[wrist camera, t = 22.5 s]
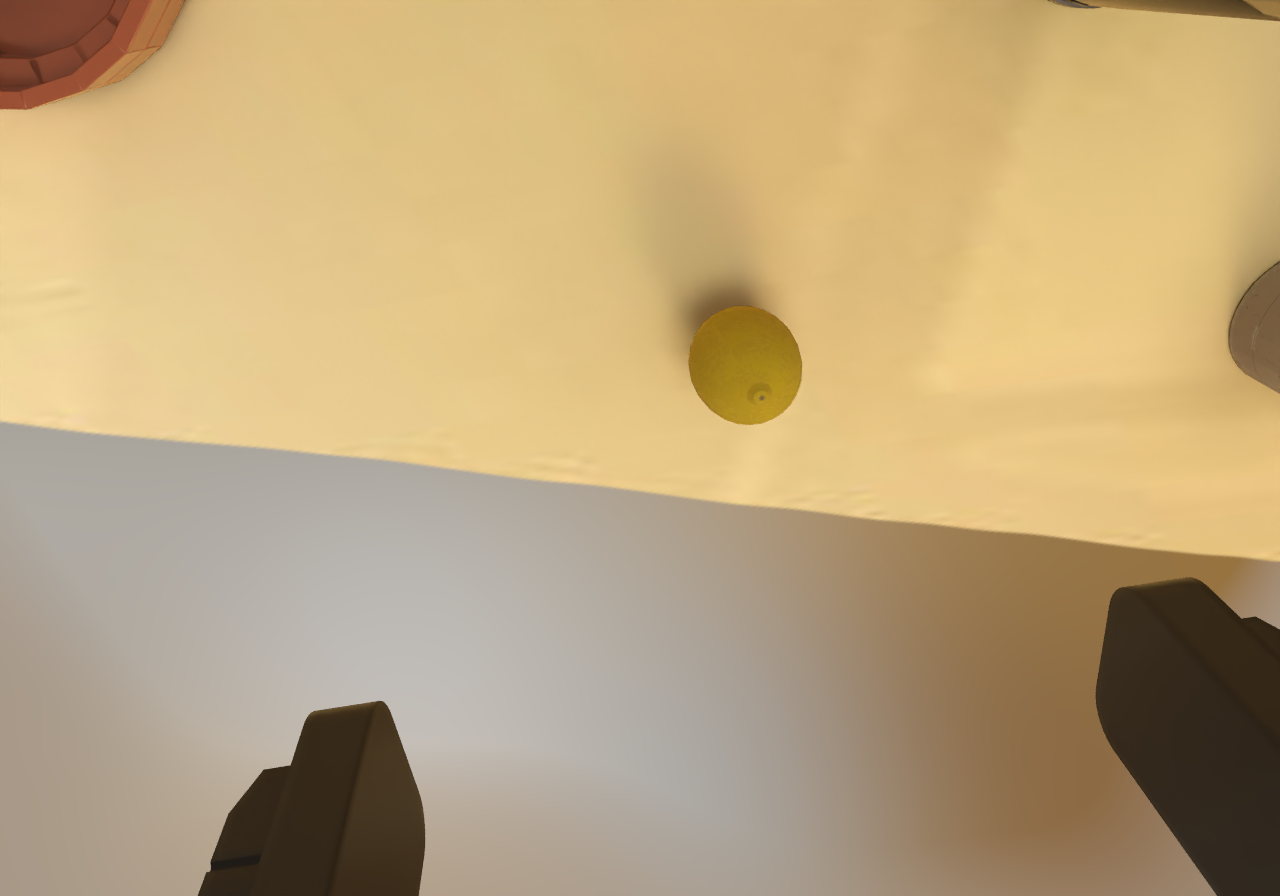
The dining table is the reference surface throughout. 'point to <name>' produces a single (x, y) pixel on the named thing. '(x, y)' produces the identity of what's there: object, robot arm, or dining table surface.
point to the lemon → (745, 365)
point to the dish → (75, 45)
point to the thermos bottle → (1259, 330)
